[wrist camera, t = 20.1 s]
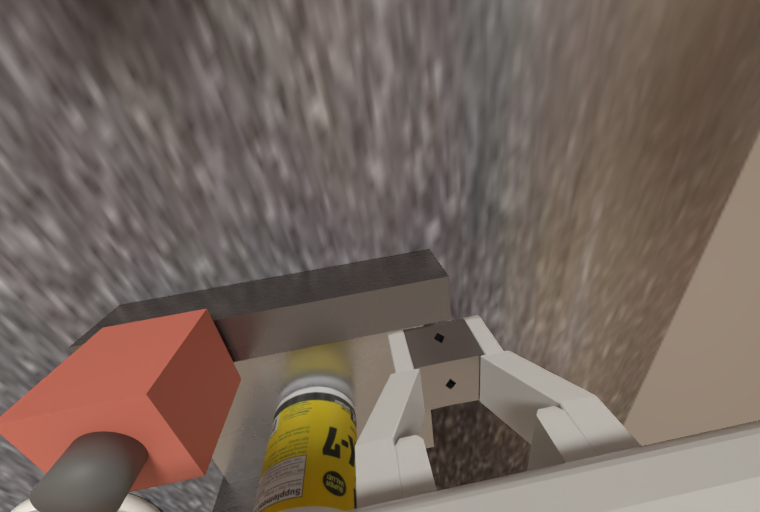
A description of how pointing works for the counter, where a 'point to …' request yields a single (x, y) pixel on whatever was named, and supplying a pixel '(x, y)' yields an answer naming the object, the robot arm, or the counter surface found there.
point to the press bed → (304, 345)
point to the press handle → (126, 413)
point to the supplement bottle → (310, 454)
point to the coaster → (132, 508)
